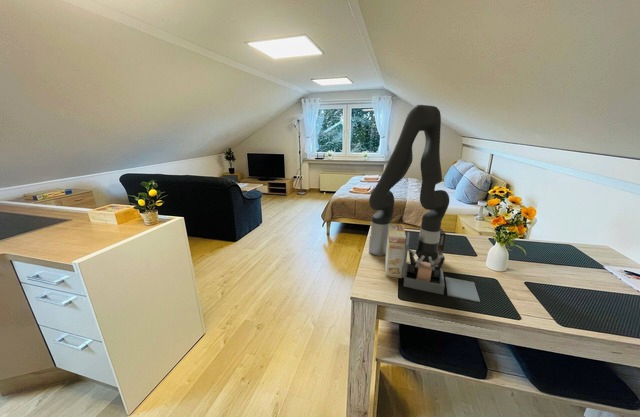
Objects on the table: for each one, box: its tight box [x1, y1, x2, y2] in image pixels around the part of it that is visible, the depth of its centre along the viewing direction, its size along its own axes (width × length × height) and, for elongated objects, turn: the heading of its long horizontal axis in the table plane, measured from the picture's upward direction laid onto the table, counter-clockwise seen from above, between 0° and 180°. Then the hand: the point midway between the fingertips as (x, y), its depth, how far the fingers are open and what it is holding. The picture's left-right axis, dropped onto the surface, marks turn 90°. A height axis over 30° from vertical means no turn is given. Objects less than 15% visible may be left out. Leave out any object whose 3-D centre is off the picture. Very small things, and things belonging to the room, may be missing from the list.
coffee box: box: [434, 228, 447, 265], centre depth 120 cm, size 9×6×16 cm
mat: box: [444, 276, 481, 303], centre depth 101 cm, size 11×13×1 cm
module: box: [416, 262, 432, 282], centre depth 105 cm, size 5×7×8 cm
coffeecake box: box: [384, 223, 407, 279], centre depth 113 cm, size 15×7×20 cm, turn 166°
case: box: [401, 231, 446, 296], centre depth 103 cm, size 16×13×19 cm
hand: (423, 275), depth 105 cm, fingers closed on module, 5 cm apart
